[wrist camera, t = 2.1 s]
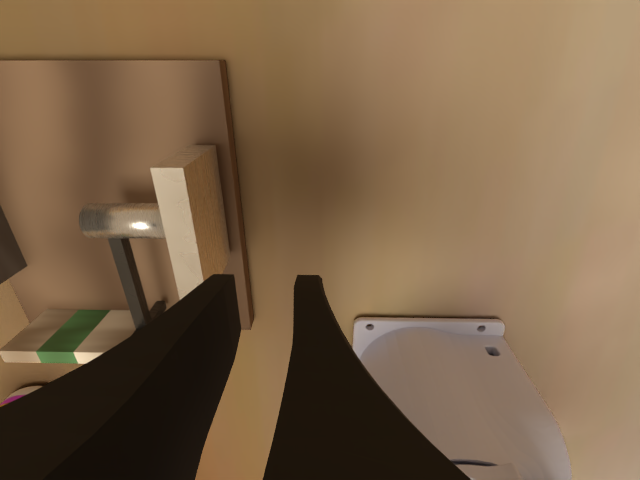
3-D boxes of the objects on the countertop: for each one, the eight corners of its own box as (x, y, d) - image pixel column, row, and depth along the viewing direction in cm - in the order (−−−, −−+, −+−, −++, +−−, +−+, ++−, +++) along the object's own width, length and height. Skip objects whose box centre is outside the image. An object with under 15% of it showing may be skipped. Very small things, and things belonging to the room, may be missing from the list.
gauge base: (225, 60, 16) (157, 57, 10) (253, 319, 23) (225, 416, 16) (-74, 61, 16) (-330, 57, 10) (43, 316, 23) (-65, 410, 17)
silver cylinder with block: (215, 144, 16) (183, 167, 12) (237, 308, 20) (218, 361, 17) (99, 144, 16) (33, 167, 13) (145, 307, 21) (106, 359, 17)
